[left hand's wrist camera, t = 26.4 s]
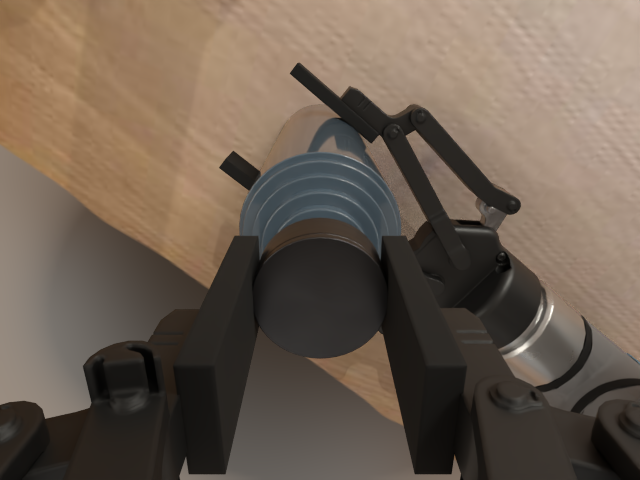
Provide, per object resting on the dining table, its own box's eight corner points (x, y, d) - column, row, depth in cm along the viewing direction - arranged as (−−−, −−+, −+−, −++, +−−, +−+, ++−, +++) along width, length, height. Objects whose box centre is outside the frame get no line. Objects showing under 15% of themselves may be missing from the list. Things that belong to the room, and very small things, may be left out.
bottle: (292, 196, 38) (254, 392, 16) (267, 118, 35) (181, 218, 13) (370, 175, 37) (444, 348, 15) (349, 93, 35) (402, 156, 13)
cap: (376, 209, 14) (384, 229, 12) (386, 321, 15) (393, 351, 14) (248, 224, 14) (239, 246, 12) (269, 333, 16) (263, 365, 14)
